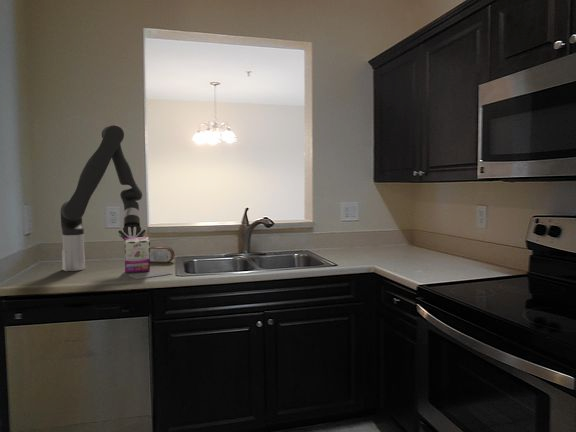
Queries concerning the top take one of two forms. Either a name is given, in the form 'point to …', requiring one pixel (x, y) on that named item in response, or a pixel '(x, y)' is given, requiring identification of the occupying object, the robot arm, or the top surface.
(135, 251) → the candy bar box
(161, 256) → the tin
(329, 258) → the top surface
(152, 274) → the mat
